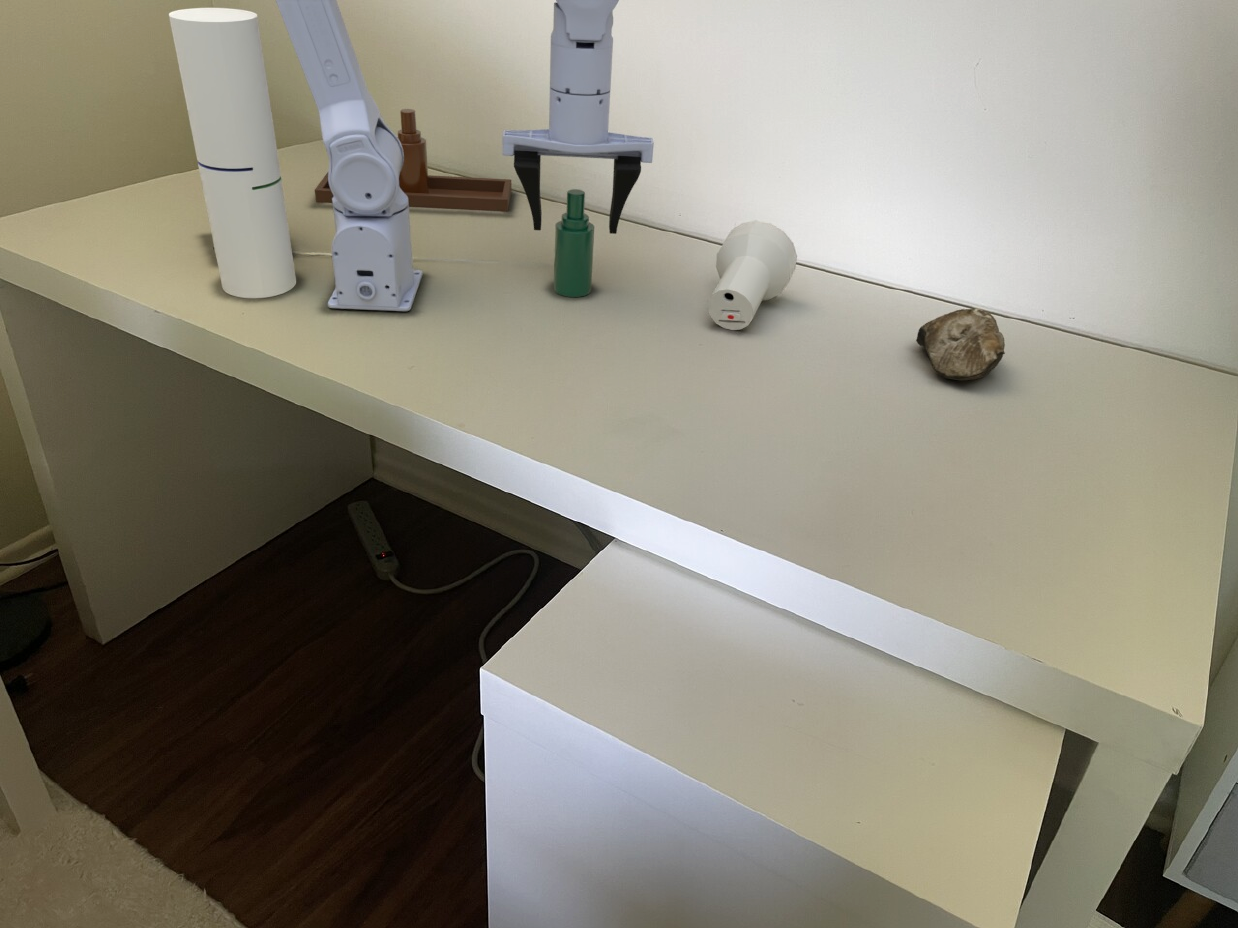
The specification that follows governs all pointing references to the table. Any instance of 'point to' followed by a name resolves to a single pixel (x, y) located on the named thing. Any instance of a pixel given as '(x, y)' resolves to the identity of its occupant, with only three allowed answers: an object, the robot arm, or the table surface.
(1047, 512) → the table surface
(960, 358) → the fossilized seashell
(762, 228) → the spotlight
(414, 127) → the brown bottle
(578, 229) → the green bottle
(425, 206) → the tray
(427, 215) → the table surface
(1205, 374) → the table surface
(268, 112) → the cylindrical container
